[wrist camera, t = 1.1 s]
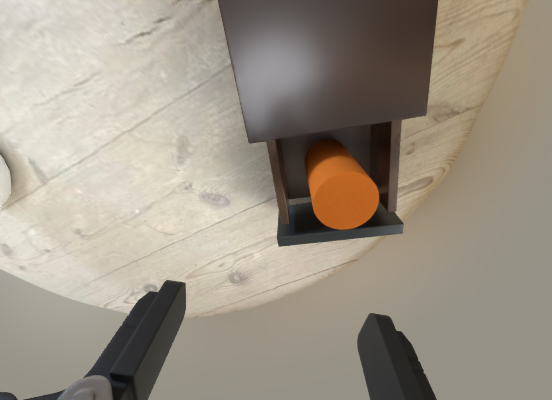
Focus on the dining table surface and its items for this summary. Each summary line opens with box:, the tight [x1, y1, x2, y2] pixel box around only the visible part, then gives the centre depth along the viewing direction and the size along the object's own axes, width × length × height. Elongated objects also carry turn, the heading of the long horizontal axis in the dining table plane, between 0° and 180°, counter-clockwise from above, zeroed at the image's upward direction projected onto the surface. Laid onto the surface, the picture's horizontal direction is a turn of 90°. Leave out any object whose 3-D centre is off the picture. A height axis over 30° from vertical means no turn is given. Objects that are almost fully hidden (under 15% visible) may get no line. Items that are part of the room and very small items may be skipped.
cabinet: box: [218, 0, 438, 143], centre depth 19 cm, size 16×14×9 cm
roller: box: [305, 139, 379, 230], centre depth 22 cm, size 5×5×10 cm
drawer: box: [266, 120, 403, 247], centre depth 25 cm, size 16×12×7 cm
